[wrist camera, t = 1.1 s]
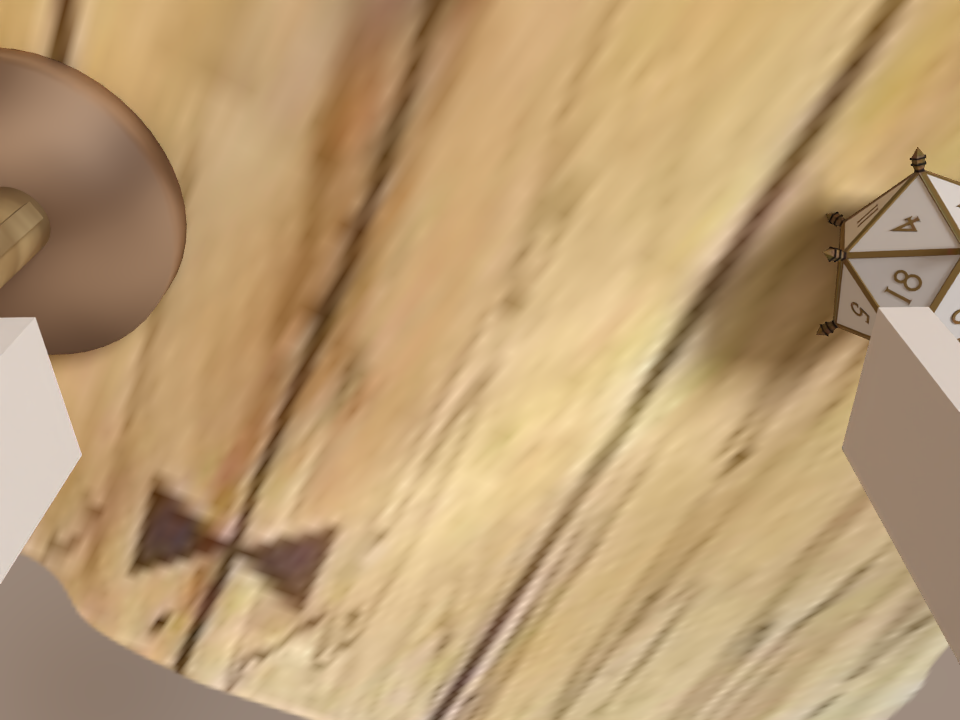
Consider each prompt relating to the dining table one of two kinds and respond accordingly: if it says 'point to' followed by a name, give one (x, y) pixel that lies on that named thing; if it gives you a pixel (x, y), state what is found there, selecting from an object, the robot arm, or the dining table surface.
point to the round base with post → (81, 207)
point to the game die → (899, 253)
